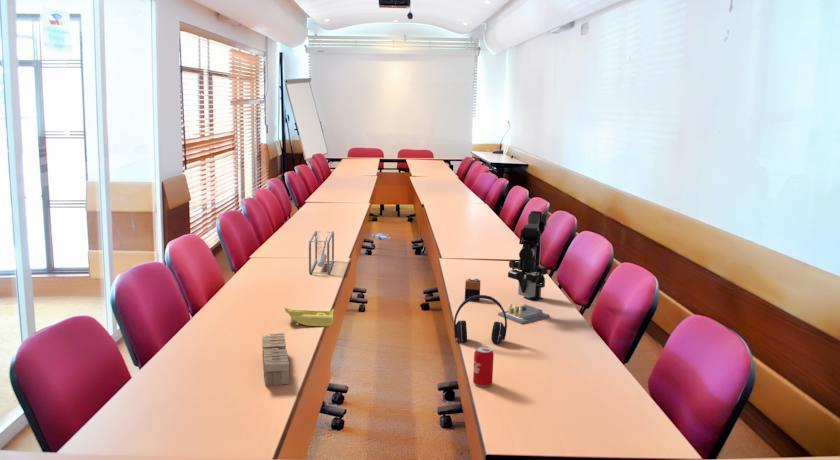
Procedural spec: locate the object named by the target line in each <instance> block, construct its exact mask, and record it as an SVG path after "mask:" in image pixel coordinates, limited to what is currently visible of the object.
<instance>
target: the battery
mask: <svg viewBox="0 0 840 460" xmlns="http://www.w3.org/2000/svg"><path fill="white" fill-rule="evenodd" d="M475 295H481V280H480V279H479V278H474V279H471V278H467V279H466V280H465V283H464V301H465V300H466V299H468V298H469V297H471V296H475ZM470 302H480V299H473V300H471V301H470Z"/></svg>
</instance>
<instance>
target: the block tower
mask: <svg viewBox="0 0 840 460" xmlns="http://www.w3.org/2000/svg"><path fill="white" fill-rule="evenodd" d="M261 338H262V341H261V342H262V345H261V346H262V366H263V367H262V371H263V379H264V381H263V382H264V386H265V387H267V386H280V385H289V384H290V372H289V371H290V362H289V356H288V349H287V343H286V337H285V333H284V332H277V333H269V334H268V335H267V334H266V335H265V334H264V335H262V337H261Z"/></svg>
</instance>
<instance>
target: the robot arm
mask: <svg viewBox="0 0 840 460" xmlns="http://www.w3.org/2000/svg"><path fill="white" fill-rule="evenodd" d="M547 226H548V216H547V215H545V214H544V213H543V211H540V210H531V211H530V213H529V214H528V216H527V224H525V225H524V226H523V227H522V229H520V235H519V245H522V248H521V249H520V251H519V252H518V257H519V260H518V261H516V260H515V259H513V260H508V261H509V262H508V267H509V268H510V269H511V270H509V271H508V272H507V278H510V279H513V280H515V281H516V280H517V281H518V285H519V284H520V287H521V290H522V293H525V290H526V286H527V282H528V280H529V281H532V282H535V283H536V289H535V296H534V297H530V298H528V297H525V296H523V298H524V299H526V300H530V301H532V302H535V301H540V300H543V299H544V297H542V289H543V288H545V287H546V277H545V275H548V271H549V270H548V268H547V267H546V266H543V265H541V253H542V251H541V250H542V249H541V247H542V234H544V232H545V230H546V227H547Z"/></svg>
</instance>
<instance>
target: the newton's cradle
mask: <svg viewBox="0 0 840 460" xmlns="http://www.w3.org/2000/svg"><path fill="white" fill-rule="evenodd" d="M330 242H331V260H330ZM312 243H314V261H313V264H312ZM322 243H323V247H322V245H320V246H318V245H319V244H322ZM321 249H322V250H321ZM318 250H321V251H318ZM325 250H326V253H325ZM318 255H319V256H318ZM334 261H335V231H334V230H332V231H328V232H327V234H326V236H325V238H324V240H322V238H321V235H320V231H317V230H315V231H314V232H313V234H312V235H311V237H310V238H309V240H308V273H309V274H327V275H329V274H331V273H330V272H331V270H332V267H333V265H334ZM325 262H326V270H327V271H326V272H321V271H317V272H315V271H314V269H315V266H317V267H318V268H323V267H324V265H325ZM313 271H314V272H313Z"/></svg>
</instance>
